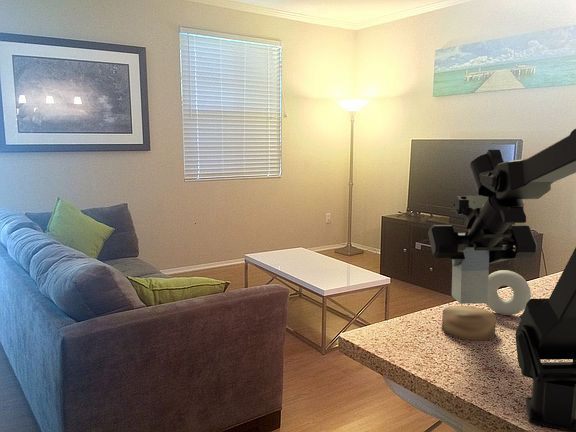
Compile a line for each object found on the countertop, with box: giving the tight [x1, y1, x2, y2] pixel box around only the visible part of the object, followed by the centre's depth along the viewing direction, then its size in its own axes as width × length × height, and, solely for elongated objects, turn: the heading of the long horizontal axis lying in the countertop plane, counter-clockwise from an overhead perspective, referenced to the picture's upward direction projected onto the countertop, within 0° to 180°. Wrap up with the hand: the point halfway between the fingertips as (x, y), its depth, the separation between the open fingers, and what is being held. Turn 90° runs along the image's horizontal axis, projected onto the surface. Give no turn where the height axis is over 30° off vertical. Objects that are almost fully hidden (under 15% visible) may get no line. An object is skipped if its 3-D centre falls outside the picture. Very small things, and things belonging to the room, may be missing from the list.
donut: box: [484, 269, 532, 316], centre depth 104 cm, size 10×3×10 cm, turn 59°
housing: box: [451, 232, 490, 305], centre depth 93 cm, size 5×5×13 cm
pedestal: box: [441, 305, 497, 342], centre depth 95 cm, size 10×10×4 cm
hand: (467, 263), depth 95 cm, fingers closed on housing, 5 cm apart
